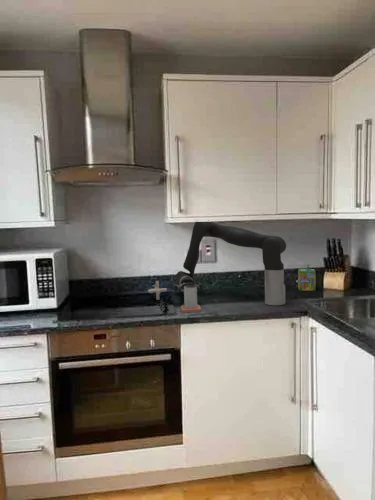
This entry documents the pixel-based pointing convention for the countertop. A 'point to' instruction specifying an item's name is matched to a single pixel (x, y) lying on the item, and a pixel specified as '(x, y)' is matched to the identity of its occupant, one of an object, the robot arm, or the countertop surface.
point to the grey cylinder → (190, 297)
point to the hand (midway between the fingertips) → (189, 289)
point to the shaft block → (190, 309)
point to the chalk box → (307, 279)
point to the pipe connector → (157, 290)
